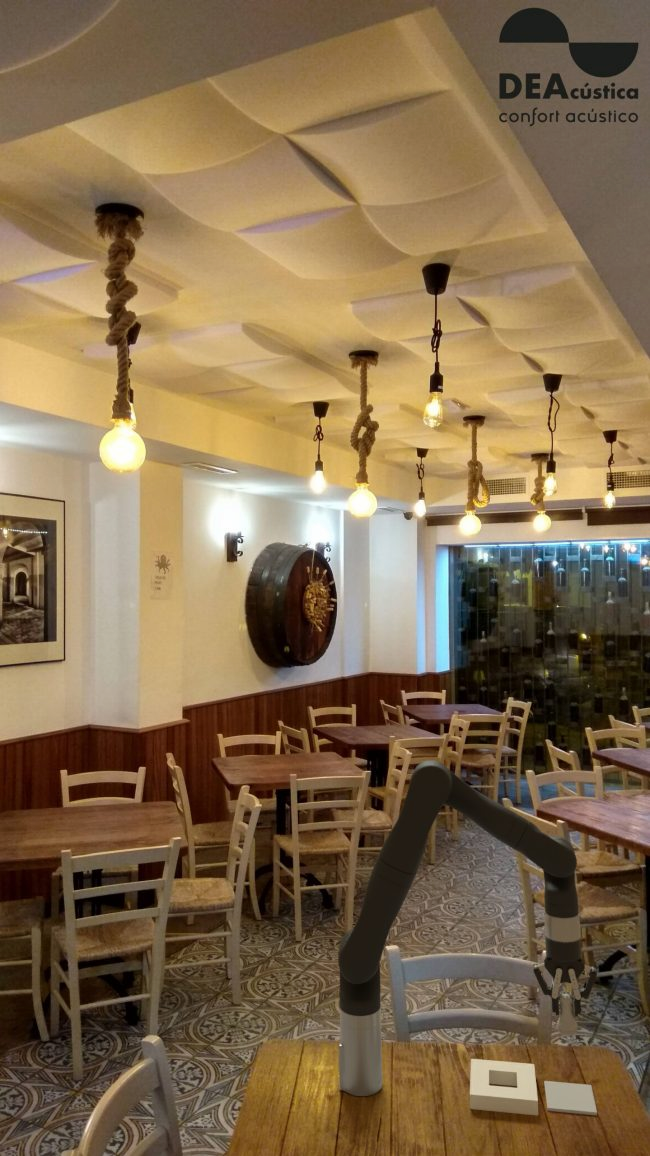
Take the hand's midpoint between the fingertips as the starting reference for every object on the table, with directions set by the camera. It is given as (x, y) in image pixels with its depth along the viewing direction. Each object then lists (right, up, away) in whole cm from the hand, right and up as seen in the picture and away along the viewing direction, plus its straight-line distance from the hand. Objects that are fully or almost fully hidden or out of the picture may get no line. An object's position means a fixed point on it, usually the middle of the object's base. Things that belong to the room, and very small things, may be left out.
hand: (566, 1014), depth 177 cm
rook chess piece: (0, -4, 0) cm, 4 cm away
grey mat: (0, -18, -1) cm, 18 cm away
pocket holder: (-13, -18, +2) cm, 23 cm away
